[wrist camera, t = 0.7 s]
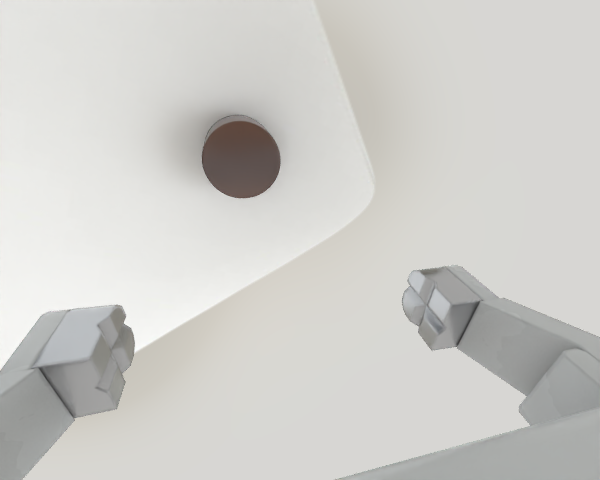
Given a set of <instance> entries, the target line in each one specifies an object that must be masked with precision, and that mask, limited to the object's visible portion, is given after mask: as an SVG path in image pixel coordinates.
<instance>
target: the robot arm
mask: <svg viewBox="0 0 600 480" xmlns="http://www.w3.org/2000/svg"><path fill="white" fill-rule="evenodd" d="M408 283H409V285H410V287H408V288H407V289H406V290H405V292H404V294H403V298H402V305H403V310H404V312H405V315H406V316H407V317H408V319H409V320H410V321H411V322H412V323H414V324H416V325H417V326H419V329H418V333H419V334H420V336H421V337H422V338H423V339H424V341H425V342H426V344H427V345H428V346H429V348H430V349H431V350H438V349H445V348H451V347H457V349H459V350H460V351H462V352H463V353H465V354H466V355H468V356H469V357H471V358H472V359H473V360H475V361H476V362H478V363H479V364H481V365H482V366H484V367H485V368H487V369H488V370H489V371H491V372H493V373H494V374H495V375H497V376H498V377H500V378H501V379H503V380H504V381H506V382H507V383H508V384H510V385H511V386H513V387H514V388H516V389H517V390H519V391H520V392H522V393H523V394H525V395H526V396H527V397H526V398H525V400H524V401H523V402H522V403H521V404H520V406H519V412H520V414H521V415H522V416H523V417H524V418H525V419H526V421H527V422H528V423H529V424H530V426H529V427H525V428H521V429H518V430H514V431H510V432H507V433H503V434H499V435H496V436H492V437H488V438H485V439H481V440H477V441H474V442H470V443H467V444H463V445H459V446H456V447H452V448H449V449H445V450H441V451H437V452H434V453H430V454H426V455H423V456H419V457H416V458H412V459H409V460H405V461H401V462H398V463H394V464H390V465H386V466H383V467H379V468H375V469H372V470H368V471H364V472H361V473H358V474H354V475H350V476H346V477H343V478H339V479H335V480H600V337H598V336H596V335H593V334H591V333H588V332H586V331H583V330H581V329H579V328H576V327H574V326H571V325H569V324H566V323H564V322H561V321H559V320H557V319H554V318H552V317H549V316H547V315H545V314H542V313H540V312H537V311H535V310H532V309H530V308H527V307H525V306H523V305H520V304H518V303H515V302H513V301H510V300H508V299H505V298H499V297H497V296H496V295H495V294H494V293H493V292H491V291H490V290H489V289H488V288H487V287H485V286H484V285H483V284H482V283H481V282H479V281H478V280H477V279H476V278H475V277H473V276H472V275H471V274H470V273H469V272H467V271H466V270H465V269H464V268H463V267H461V266H458V265H451V266H445V267H439V268H430V269H422V270H414V271H412V272H411V274H410V275H409V278H408ZM125 318H126V314H125V312H124V310H123V307H122V306H120V305H109V306H99V307H88V308H77V309H72V310H61V311H50V312H47V313H45V314H43V315H42V316H41V317H40V318H39V319H38V321H37V322H36V323H35V325H34V326H33V327H32V329H31V330H30V331H29V333H28V334H27V335H26V337H25V338H24V339H23V341H22V342H21V343H20V345H19V346H18V348H17V349H16V350H15V352H14V353H13V354H12V356H11V357H10V358H9V360H8V361H7V362H6V364H5V365H4V366H3V368H2V369H1V370H0V480H22V479H23V478H24V477H25V475H26V474H27V473H28V472H29V471H30V470H31V469H32V468H33V467H34V466H35V464H36V463H37V462H38V461H39V460H40V459H41V458H42V456H44V454H45V453H46V452H47V451H48V450H49V449H50V448H51V447H52V445H53V444H54V443H55V442H56V441H57V440H58V439H59V438H60V436H61V435H62V434H63V433H64V432H65V431H66V430H67V428H68V427H69V426H70V425H71V424H72V423H73V422H74V421H75V420H74V418H77V417H82V416H86V415H91V414H96V413H101V412H105V411H110V410H115V409H117V407H118V404H119V401H120V397H121V395H122V391H123V388H124V385H125V380H124V378H123V375H122V373H123V372H124V371H126V370H127V369H128V368H129V367H130V366H131V363H132V359H133V356H134V346H135V342H134V335H133V332H132V330H131V328H130V327H128V326H126V325H125V324H123V323H124V320H125Z"/></svg>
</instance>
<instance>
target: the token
mask: <svg viewBox="0 0 600 480" xmlns="http://www.w3.org/2000/svg"><path fill="white" fill-rule="evenodd" d="M202 164H203V168H204V171H205V174H206V176H207V178H208V179H209V181H210V182H211V183H212V185H213V186H214V187H215V188H217V189H218V190H219V191H221V192H222V193H224V194H226V195H228V196H231V197H235V198H250V197H254V196H257V195H259V194H261V193H263V192H264V191H266V190H267V189H268V188H269V187H270V186H271V185H272V184H273V183H274V181H275V180H276V178H277V176H278V173H279V169H280V153H279V149H278V146H277V144H276V142H275V140H274V139H273V137H272V136H271V135H270V134H269V133H268V131H267V130H266V129H265V128H264V127H263V126H262V125H261V124H260V123H259V122H257V121H256V120H254V119H252V118H250V117H247V116H242V115H232V116H228V117H225V118H223V119H221V120H219V121H218V122H216V123H215V124H214V125H213V126H212V127H211V129H210V130H209V132H208V134H207V136H206V139H205V143H204V147H203V152H202Z"/></svg>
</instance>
